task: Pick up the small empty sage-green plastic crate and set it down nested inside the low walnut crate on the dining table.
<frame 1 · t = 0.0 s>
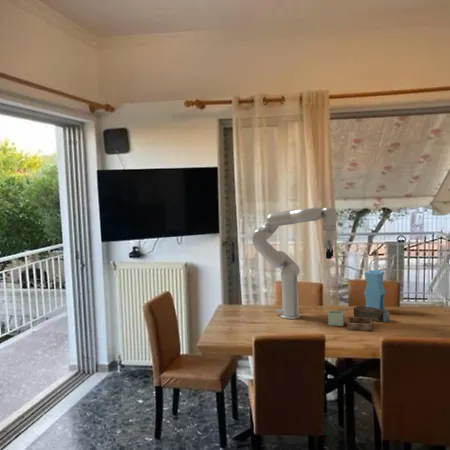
hand: (329, 257, 267), 37 cm above the table, tool pointing down, fingers open, 9 cm apart
walnut crate: (359, 326, 251), on the table
beverage carton: (371, 319, 266), on the table
small crate: (336, 324, 257), on the table
vase: (374, 311, 283), on the table
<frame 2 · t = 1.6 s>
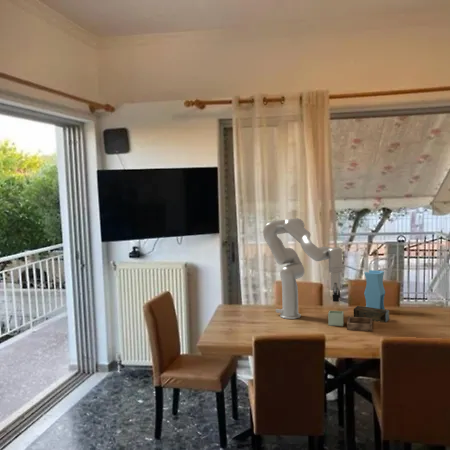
hand: (336, 299, 256), 14 cm above the table, tool pointing down, fingers open, 9 cm apart
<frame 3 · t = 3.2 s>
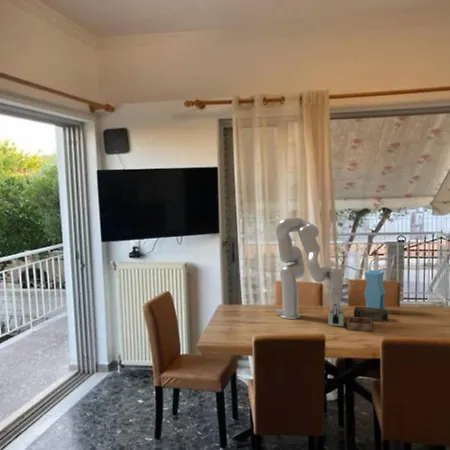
hand: (336, 321, 257), 2 cm above the table, tool pointing down, fingers closed on small crate, 6 cm apart
small crate: (336, 324, 257), on the table, touching gripper
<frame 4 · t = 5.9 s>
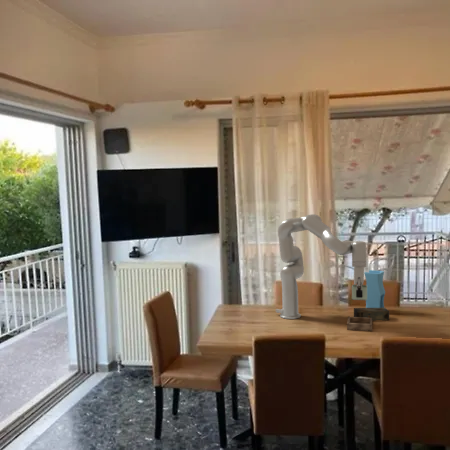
hand: (359, 295, 250), 18 cm above the table, tool pointing down, fingers closed on small crate, 6 cm apart
small crate: (359, 298, 250), point 16 cm above the table, touching gripper
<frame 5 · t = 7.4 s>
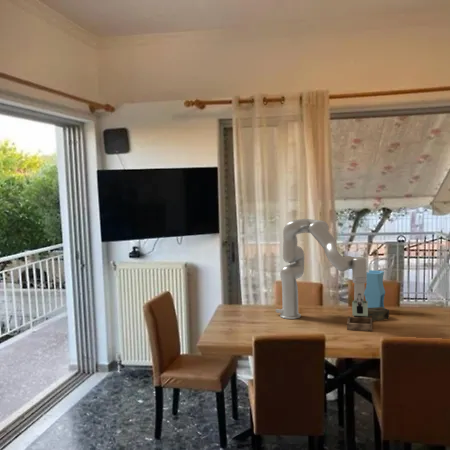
hand: (360, 311, 251), 9 cm above the table, tool pointing down, fingers closed on small crate, 6 cm apart
small crate: (360, 314, 251), point 7 cm above the table, touching gripper
when the fingers open (4 cm above the table, at t = 8.8 s): small crate drops 2 cm, resting on walnut crate.
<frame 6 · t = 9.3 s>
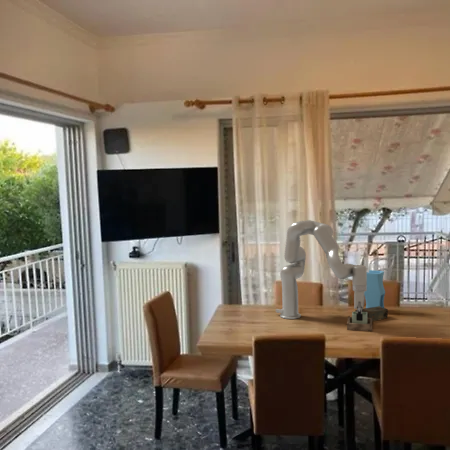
hand: (359, 318, 251), 5 cm above the table, tool pointing down, fingers open, 9 cm apart
small crate: (359, 325, 251), point 1 cm above the table, touching walnut crate
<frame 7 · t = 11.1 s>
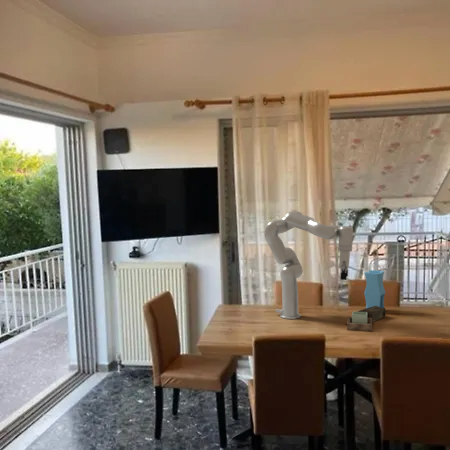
hand: (344, 278, 258), 26 cm above the table, tool pointing down, fingers open, 9 cm apart
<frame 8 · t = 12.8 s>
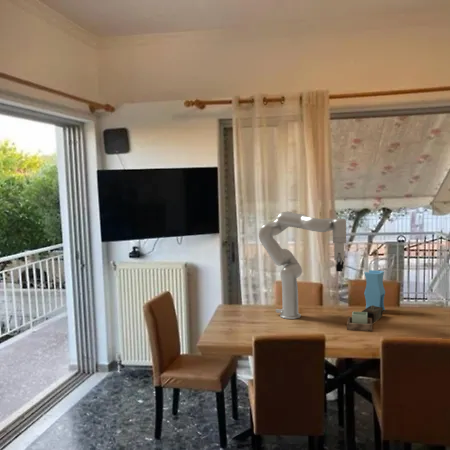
hand: (339, 269, 260), 30 cm above the table, tool pointing down, fingers open, 9 cm apart
at the end: small crate 0.1 cm off-centre on the walnut crate, point 0.6 cm above the walnut crate's base; small crate tilted 0°; the gripper is holding nothing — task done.
